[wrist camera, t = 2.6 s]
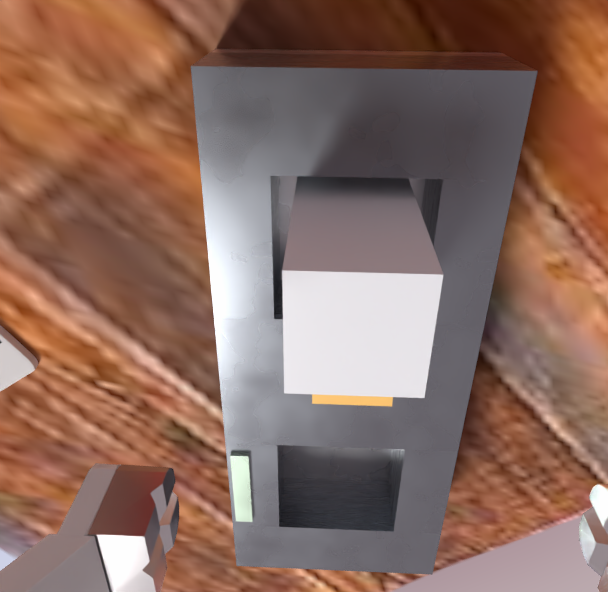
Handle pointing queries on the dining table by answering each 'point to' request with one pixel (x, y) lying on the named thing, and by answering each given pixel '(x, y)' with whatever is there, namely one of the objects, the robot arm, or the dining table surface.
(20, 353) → the smartphone
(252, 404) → the panel
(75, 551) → the robot arm
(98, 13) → the dining table surface
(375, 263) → the plug
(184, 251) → the dining table surface
